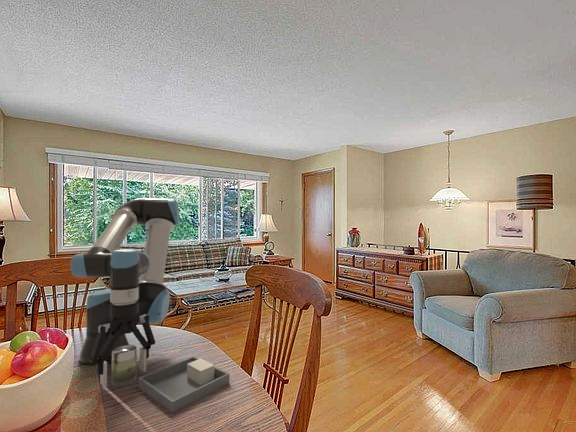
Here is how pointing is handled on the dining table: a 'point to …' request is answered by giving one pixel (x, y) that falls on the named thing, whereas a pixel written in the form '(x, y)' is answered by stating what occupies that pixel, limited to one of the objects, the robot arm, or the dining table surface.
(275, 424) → the dining table surface
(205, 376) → the cream rectangular block
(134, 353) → the tin can
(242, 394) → the dining table surface
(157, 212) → the robot arm
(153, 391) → the tray
